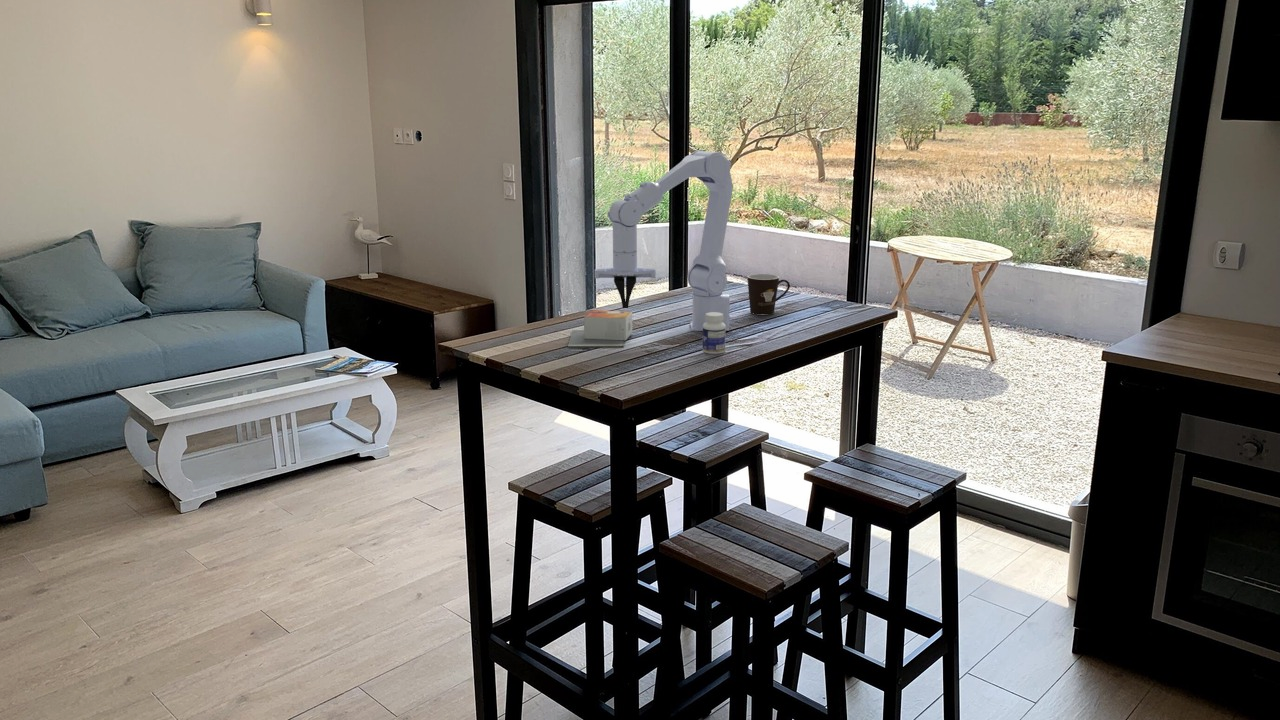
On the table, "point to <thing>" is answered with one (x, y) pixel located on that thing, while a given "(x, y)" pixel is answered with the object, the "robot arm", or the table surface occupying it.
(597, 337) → the small box
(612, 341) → the mat
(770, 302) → the coffee mug
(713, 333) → the pill bottle
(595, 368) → the table surface
